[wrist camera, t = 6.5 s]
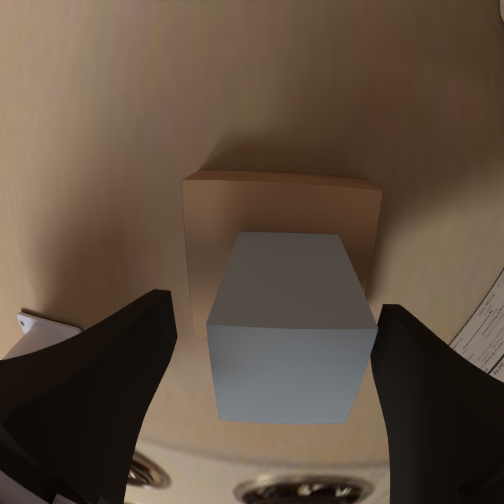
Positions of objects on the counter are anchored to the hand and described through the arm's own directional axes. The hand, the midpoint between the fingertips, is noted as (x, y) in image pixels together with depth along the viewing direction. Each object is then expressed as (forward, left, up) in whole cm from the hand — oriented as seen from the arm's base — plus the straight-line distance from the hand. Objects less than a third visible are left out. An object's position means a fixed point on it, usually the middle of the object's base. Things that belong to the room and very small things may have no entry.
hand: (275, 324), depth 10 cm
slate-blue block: (0, 0, -3) cm, 3 cm away
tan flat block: (0, 0, -6) cm, 6 cm away
